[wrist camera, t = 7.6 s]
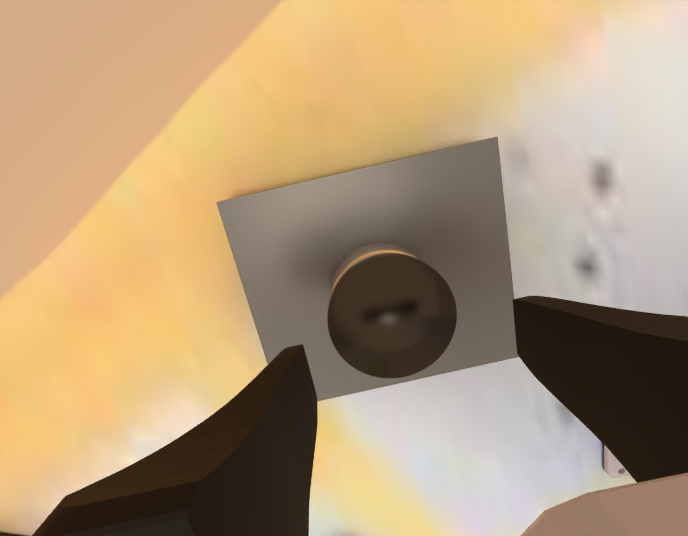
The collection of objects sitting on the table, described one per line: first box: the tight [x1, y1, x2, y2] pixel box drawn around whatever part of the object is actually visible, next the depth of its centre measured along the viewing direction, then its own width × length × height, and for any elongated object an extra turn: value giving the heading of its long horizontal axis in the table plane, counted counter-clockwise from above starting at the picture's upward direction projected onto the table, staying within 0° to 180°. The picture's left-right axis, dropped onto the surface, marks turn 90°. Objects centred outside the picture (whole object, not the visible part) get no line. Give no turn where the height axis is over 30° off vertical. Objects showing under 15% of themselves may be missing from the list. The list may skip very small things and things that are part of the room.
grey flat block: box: [216, 137, 519, 401], centre depth 19 cm, size 14×12×3 cm
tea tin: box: [327, 242, 457, 378], centre depth 15 cm, size 5×5×4 cm
